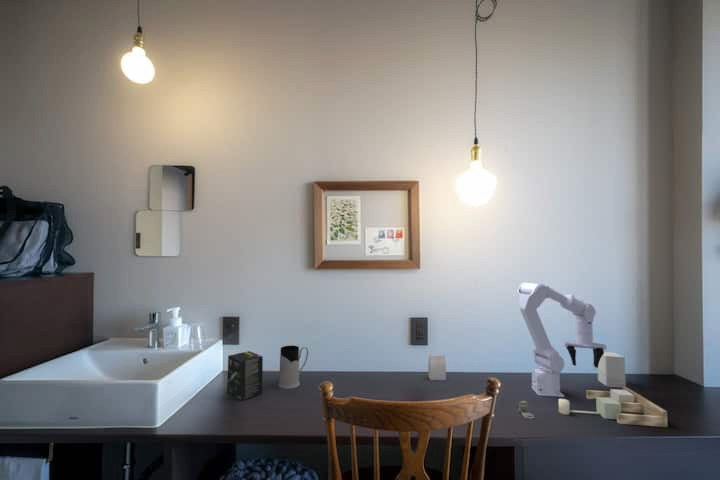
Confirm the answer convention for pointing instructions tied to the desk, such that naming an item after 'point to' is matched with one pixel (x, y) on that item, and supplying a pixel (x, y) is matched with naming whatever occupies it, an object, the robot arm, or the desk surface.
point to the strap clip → (524, 410)
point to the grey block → (622, 396)
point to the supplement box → (612, 370)
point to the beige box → (436, 367)
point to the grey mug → (290, 366)
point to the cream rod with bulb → (603, 406)
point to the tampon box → (245, 375)
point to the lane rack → (635, 409)
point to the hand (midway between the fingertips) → (584, 365)
